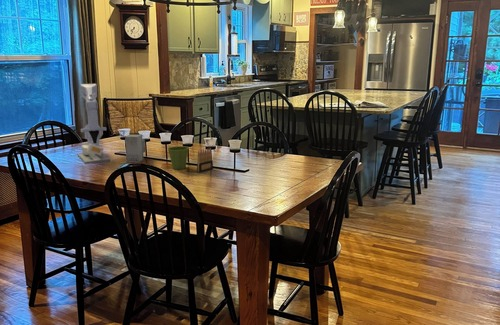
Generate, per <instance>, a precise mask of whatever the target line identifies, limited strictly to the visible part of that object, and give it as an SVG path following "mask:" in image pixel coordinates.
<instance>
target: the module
mask: <svg viewBox="0 0 500 325" xmlns="http://www.w3.org/2000/svg"><path fill="white" fill-rule="evenodd" d="M87 145H88V144H87ZM87 151H88V152H91V153H94V154H97V155H100V156H101V154H102V153H103V152H104V148H103V147H101V146H100V147H99V146H96V145H93V144H90V143H89V145H88V148H87Z"/></svg>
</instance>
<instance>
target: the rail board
mask: <svg viewBox="0 0 500 325" xmlns="http://www.w3.org/2000/svg"><path fill="white" fill-rule="evenodd" d="M93 145H95V144H93ZM87 148H88V144H83V145H81V152H82V153H77V157H79V159H80V160H81V161H82V162H83V163H84V164H85V165H86V164H94V163H101V162H102V163H103V162H111V161H110V160H111V159H110V158H109V157H108V156H107V155H105V154H104V153H103V152H102V154H101V156H100V155H97V154H94V153H91V152H88V151H87Z"/></svg>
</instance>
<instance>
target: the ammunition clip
mask: <svg viewBox="0 0 500 325" xmlns="http://www.w3.org/2000/svg"><path fill="white" fill-rule="evenodd" d="M196 160H197V162H196V173H198V174H201V173H205V172H208V171H212V170H214V162H213V153H212V148H211V147H209V148H207V149H206V148H205V149H200V150H198V151H197V159H196Z"/></svg>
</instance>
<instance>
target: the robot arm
mask: <svg viewBox="0 0 500 325" xmlns="http://www.w3.org/2000/svg"><path fill="white" fill-rule="evenodd" d="M80 94H81V98H82V99H84V100H85V110H86V113H87V124H86V125H85V126H84V128H80V133H84V138H85V139H86V140H87V143H86V145H89V143H90V144H95V145H96V146H99V147H101V144H100V142H101V140H100V139H101V138H102V132H103V131H107V126H100V124H99V116H98V108H99V106H98V101H97V98H98V85H97V83H80Z"/></svg>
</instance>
